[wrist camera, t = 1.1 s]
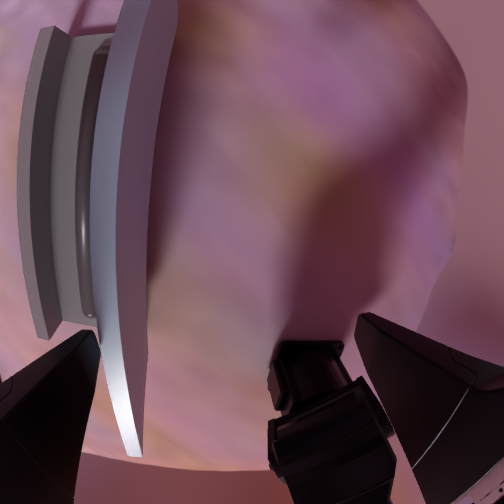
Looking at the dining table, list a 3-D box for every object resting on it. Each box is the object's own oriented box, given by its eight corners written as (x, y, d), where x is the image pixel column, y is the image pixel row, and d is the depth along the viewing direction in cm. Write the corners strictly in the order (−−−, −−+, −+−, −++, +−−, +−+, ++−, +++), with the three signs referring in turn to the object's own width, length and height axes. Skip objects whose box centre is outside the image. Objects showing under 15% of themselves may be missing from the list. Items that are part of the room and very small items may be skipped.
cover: (164, 22, 12) (178, 22, 12) (137, 352, 20) (148, 352, 20) (153, -67, 4) (177, -68, 4) (127, 456, 11) (142, 457, 12)
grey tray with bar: (174, 36, 16) (166, 15, 12) (146, 327, 24) (138, 357, 20) (64, 42, 14) (40, 28, 11) (55, 312, 22) (37, 337, 18)
